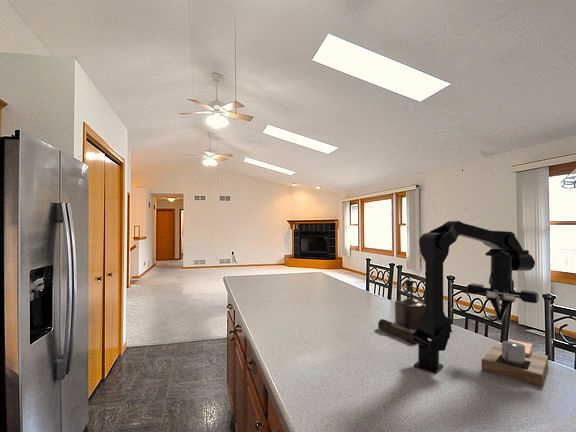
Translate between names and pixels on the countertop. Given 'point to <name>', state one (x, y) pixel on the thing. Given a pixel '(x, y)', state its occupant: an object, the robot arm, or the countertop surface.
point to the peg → (513, 354)
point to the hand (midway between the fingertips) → (500, 319)
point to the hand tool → (395, 330)
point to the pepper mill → (409, 309)
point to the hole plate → (531, 373)
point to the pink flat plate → (527, 347)
